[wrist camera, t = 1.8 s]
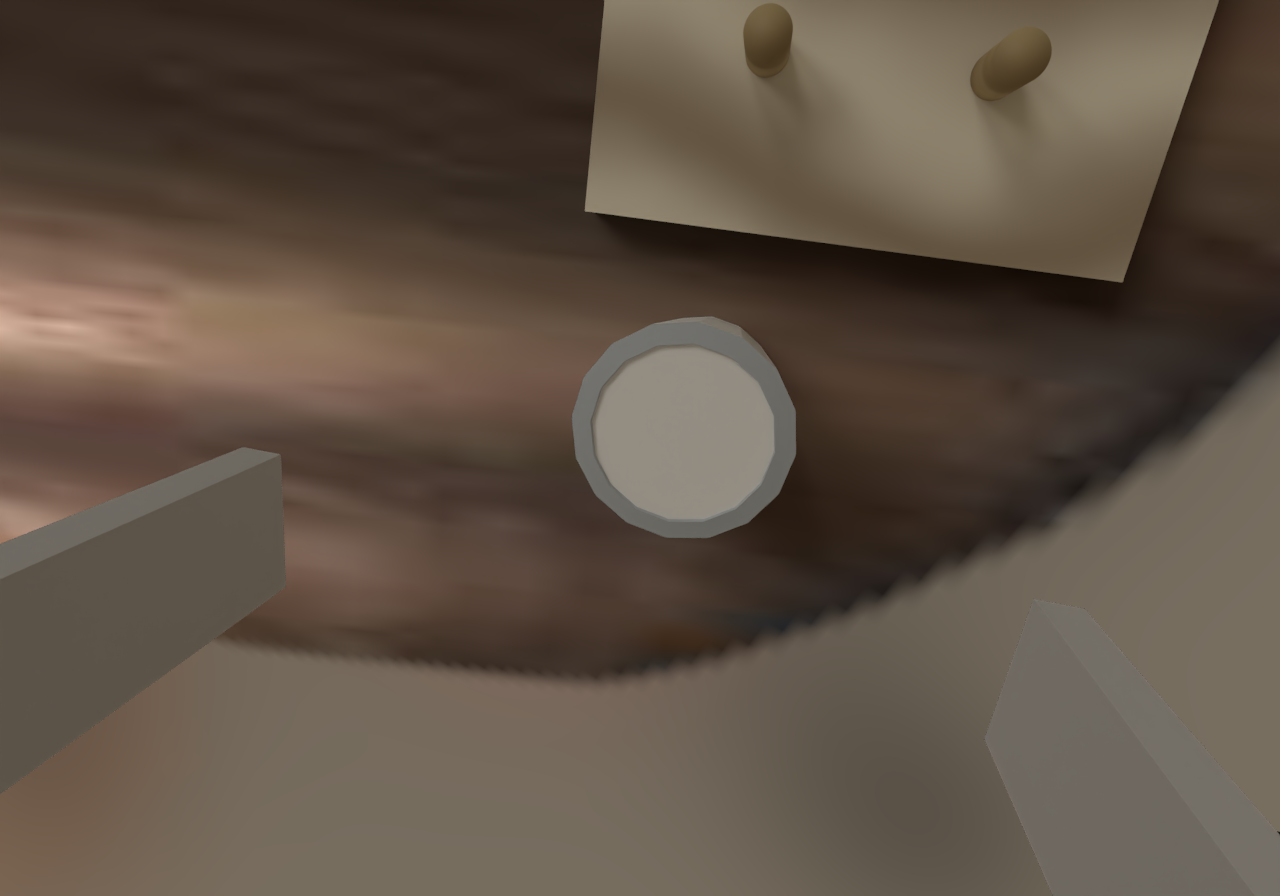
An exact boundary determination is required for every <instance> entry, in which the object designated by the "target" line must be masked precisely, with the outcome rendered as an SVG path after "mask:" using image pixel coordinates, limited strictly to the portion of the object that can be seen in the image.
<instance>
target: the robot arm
mask: <svg viewBox="0 0 1280 896" xmlns="http://www.w3.org/2000/svg"><path fill="white" fill-rule="evenodd" d="M285 587H286V573H285V548H284V523H283V498H282V473H281V454H276V453H271V452H265V451H260V450H255V449H250V448H244V447H242V448H240V449H237V450H235V451H232V452H230V453H227V454H225V455H222V456H220V457H217V458H215V459H212V460H210V461H207V462H205V463H202V464H200V465H197V466H195V467H192V468H190V469H187V470H185V471H182V472H180V473H177V474H175V475H172V476H170V477H167V478H165V479H162V480H160V481H157V482H155V483H152V484H149V485H147V486H144V487H142V488H139V489H137V490H134V491H132V492H129V493H127V494H124V495H122V496H119V497H117V498H114V499H112V500H109V501H107V502H104V503H102V504H99V505H97V506H94V507H92V508H89V509H87V510H84V511H82V512H79V513H77V514H74V515H72V516H69V517H67V518H64V519H62V520H59V521H57V522H54V523H52V524H49V525H47V526H44V527H42V528H39V529H37V530H34V531H32V532H29V533H27V534H24V535H22V536H19V537H17V538H14V539H12V540H9V541H7V542H4V543H2V544H0V794H1V793H2V792H4V791H5V790H7V789H8V788H9V787H11V786H12V785H14V784H15V783H16V782H18V781H19V780H20V779H22V778H23V777H24V776H26V775H27V774H29V773H30V772H31V771H33V770H34V769H35V768H37V767H38V766H40V765H41V764H42V763H44V762H45V761H47V760H48V759H49V758H51V757H52V756H54V755H55V754H56V753H58V752H59V751H60V750H62V749H63V748H65V747H66V746H67V745H69V744H70V743H71V742H73V741H74V740H75V739H77V738H78V737H80V736H81V735H82V734H84V733H85V732H87V731H88V730H89V729H90V728H92V727H93V726H95V725H96V724H98V723H99V722H100V721H102V720H103V719H104V718H106V717H107V716H109V715H110V714H111V713H113V712H114V711H116V710H117V709H118V708H120V707H121V706H122V705H124V704H125V703H127V702H128V701H129V700H131V699H132V698H133V697H135V696H136V695H138V694H139V693H140V692H141V691H143V690H144V689H146V688H147V687H149V686H150V685H151V684H153V683H154V682H155V681H157V680H158V679H160V678H161V677H162V676H163V675H165V674H166V673H168V672H169V671H171V670H172V669H173V668H175V667H176V666H177V665H179V664H180V663H181V662H183V661H184V660H185V659H187V658H188V657H190V656H191V655H193V654H194V653H195V652H197V651H198V650H199V649H201V648H202V647H204V646H205V645H206V644H208V643H209V642H211V641H212V640H213V639H215V638H216V637H217V636H219V635H220V634H222V633H223V632H224V631H226V630H227V629H229V628H230V627H231V626H233V625H234V624H235V623H237V622H238V621H240V620H241V619H242V618H244V617H245V616H246V615H248V614H249V613H251V612H252V611H253V610H255V609H256V608H257V607H259V606H260V605H262V604H263V603H264V602H266V601H267V600H268V599H270V598H271V597H273V596H274V595H275V594H277V593H278V592H279V591H281V590H282V589H284V588H285ZM984 740H985V742H986V745H987V747H988V749H989V752H990V754H991V756H992V758H993V761H994V763H995V765H996V768H997V770H998V772H999V774H1000V777H1001V779H1002V781H1003V783H1004V786H1005V788H1006V790H1007V793H1008V795H1009V797H1010V799H1011V802H1012V804H1013V806H1014V809H1015V811H1016V813H1017V816H1018V818H1019V820H1020V822H1021V824H1022V827H1023V829H1024V832H1025V834H1026V836H1027V839H1028V841H1029V843H1030V845H1031V848H1032V849H1033V852H1034V855H1035V857H1036V859H1037V861H1038V864H1039V866H1040V868H1041V871H1042V873H1043V875H1044V877H1045V880H1046V882H1047V884H1048V887H1049V889H1050V891H1051V893H1052V896H1280V832H1278V831H1276V830H1275V829H1274V828H1273V826H1272V825H1271V824H1270V823H1269V822H1268V821H1267V819H1266V818H1265V817H1264V816H1263V815H1262V814H1261V812H1260V811H1259V810H1258V809H1257V808H1256V807H1255V805H1254V804H1253V803H1252V802H1251V801H1250V800H1249V799H1248V797H1247V796H1246V795H1245V794H1244V793H1243V792H1242V790H1241V789H1240V788H1239V787H1238V786H1237V785H1236V783H1235V782H1234V781H1233V780H1232V779H1231V778H1230V777H1229V775H1228V774H1227V773H1226V772H1225V771H1224V770H1223V769H1222V767H1221V766H1220V765H1219V764H1218V763H1217V761H1216V760H1215V759H1214V758H1213V757H1212V756H1211V755H1210V754H1209V752H1208V751H1207V750H1206V749H1205V748H1204V747H1203V745H1202V744H1201V743H1200V742H1199V741H1198V739H1197V738H1196V737H1195V736H1194V735H1193V734H1192V733H1191V731H1190V730H1189V729H1188V728H1187V727H1186V726H1185V724H1184V723H1183V722H1182V721H1181V720H1180V719H1179V717H1178V716H1177V715H1176V714H1175V713H1174V712H1173V711H1172V709H1171V708H1170V707H1169V706H1168V705H1167V704H1166V702H1165V701H1164V700H1163V699H1162V698H1161V697H1160V695H1159V694H1158V693H1157V692H1156V691H1155V690H1154V689H1153V687H1152V686H1151V685H1150V684H1149V683H1148V681H1147V680H1146V679H1145V678H1144V677H1143V676H1142V675H1141V673H1140V672H1139V671H1138V670H1137V669H1136V668H1135V666H1134V665H1133V664H1132V663H1131V662H1130V661H1129V660H1128V659H1127V657H1126V656H1125V655H1124V654H1123V653H1122V651H1120V649H1119V648H1118V647H1117V646H1116V645H1115V643H1114V642H1113V641H1112V640H1111V639H1110V637H1109V636H1108V635H1107V634H1106V633H1105V632H1104V630H1103V629H1102V628H1101V627H1100V626H1099V625H1098V624H1097V622H1096V621H1095V620H1094V619H1093V618H1092V617H1091V616H1090V614H1089V613H1088V612H1087V611H1086V610H1085V609H1084V608H1079V607H1074V606H1068V605H1063V604H1058V603H1053V602H1048V601H1042V600H1037V599H1033V602H1032V605H1031V607H1030V610H1029V613H1028V616H1027V619H1026V622H1025V624H1024V627H1023V630H1022V633H1021V636H1020V639H1019V642H1018V644H1017V647H1016V650H1015V653H1014V656H1013V658H1012V661H1011V664H1010V667H1009V670H1008V673H1007V676H1006V678H1005V681H1004V684H1003V687H1002V690H1001V693H1000V696H999V698H998V702H997V704H996V707H995V710H994V713H993V715H992V718H991V721H990V724H989V727H988V730H987V732H986V736H985V739H984Z"/></svg>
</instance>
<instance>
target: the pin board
mask: <svg viewBox="0 0 1280 896" xmlns="http://www.w3.org/2000/svg"><path fill="white" fill-rule="evenodd" d="M1218 2H1219V0H605V2H604V13H603V23H602V34H601V44H600V55H599V66H598V76H597V87H596V97H595V108H594V119H593V129H592V140H591V150H590V161H589V172H588V182H587V193H586V203H585V211H587V212H595V213H603V214H610V215H618V216H625V217H633V218H640V219H648V220H655V221H663V222H670V223H678V224H685V225H693V226H701V227H708V228H716V229H723V230H731V231H738V232H746V233H753V234H761V235H768V236H776V237H783V238H791V239H799V240H806V241H814V242H821V243H829V244H836V245H844V246H851V247H859V248H866V249H874V250H881V251H889V252H897V253H904V254H912V255H919V256H927V257H934V258H942V259H949V260H957V261H964V262H972V263H979V264H987V265H995V266H1002V267H1010V268H1017V269H1025V270H1032V271H1040V272H1047V273H1055V274H1062V275H1070V276H1077V277H1085V278H1093V279H1100V280H1108V281H1115V282H1123V280H1124V277H1125V274H1126V271H1127V268H1128V265H1129V262H1130V259H1131V256H1132V253H1133V250H1134V247H1135V245H1136V242H1137V239H1138V236H1139V233H1140V230H1141V227H1142V224H1143V221H1144V218H1145V215H1146V212H1147V210H1148V207H1149V204H1150V201H1151V198H1152V195H1153V192H1154V189H1155V186H1156V183H1157V180H1158V177H1159V174H1160V172H1161V169H1162V166H1163V163H1164V160H1165V157H1166V154H1167V151H1168V148H1169V145H1170V142H1171V139H1172V137H1173V134H1174V131H1175V128H1176V125H1177V122H1178V119H1179V116H1180V113H1181V110H1182V107H1183V104H1184V102H1185V99H1186V96H1187V93H1188V90H1189V87H1190V84H1191V81H1192V78H1193V75H1194V72H1195V69H1196V66H1197V64H1198V61H1199V58H1200V55H1201V52H1202V49H1203V46H1204V43H1205V40H1206V37H1207V34H1208V31H1209V29H1210V26H1211V23H1212V20H1213V17H1214V14H1215V11H1216V8H1217V5H1218Z"/></svg>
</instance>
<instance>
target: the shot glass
mask: <svg viewBox="0 0 1280 896" xmlns="http://www.w3.org/2000/svg"><path fill="white" fill-rule="evenodd" d="M572 424H573V434H574V444H575V453H576V459H577V461H578V463H579V465H580V467H581V469H582V471H583V472H584V474H585V476H586V478H587V480H588V482H589V484H590V486H591V488H592V490H593V491H594V493H595V495H596V496H597V497H598V498H599V499H600V500H602V501H603V502H604V503H605V504H606V505H607V506H608V507H610V508H611V509H612V510H613V511H614V512H615V513H616V514H618V515H619V516H620V517H621V518H622V519H623V520H624V521H626V522H627V523H629V524H632V525H634V526H637V527H640V528H642V529H645V530H647V531H650V532H653V533H655V534H658V535H661V536H663V537H666V538H710V537H712V536H715V535H718V534H720V533H723V532H726V531H728V530H731V529H733V528H736V527H739V526H741V525H744V524H747V523H748V522H750V521H751V520H752V519H753V518H754V517H755V516H756V515H757V514H758V513H759V512H760V511H761V510H762V509H763V508H764V507H766V506H767V505H768V504H769V503H770V502H771V501H772V500H773V499H774V498H775V497H776V496H777V495H778V494H779V493H780V490H781V488H782V486H783V483H784V481H785V479H786V477H787V474H788V472H789V470H790V467H791V465H792V463H793V461H794V458H795V456H796V410H795V408H794V406H793V403H792V401H791V399H790V397H789V395H788V392H787V390H786V388H785V386H784V383H783V381H782V379H781V377H780V374H779V372H778V370H777V368H776V367H775V365H774V364H773V363H772V361H771V360H770V358H769V357H768V355H767V354H766V353H765V351H764V350H763V348H762V347H761V345H759V344H758V343H757V342H756V341H755V340H754V339H753V338H752V337H751V336H750V335H749V334H748V333H746V332H745V331H744V330H743V329H742V328H741V327H740V326H738V325H735V324H732V323H729V322H727V321H724V320H721V319H718V318H716V317H713V316H710V317H691V318H681V319H676V320H671V321H665V322H660V323H655V324H651V325H649V326H647V327H645V328H643V329H641V330H639V331H637V332H635V333H633V334H631V335H629V336H627V337H625V338H623V339H621V340H619V341H617V342H615V343H613V344H611V346H610V347H609V348H608V349H607V350H606V351H605V353H604V354H603V355H602V356H601V357H600V358H599V360H598V361H597V362H596V363H595V364H594V366H593V367H592V368H591V369H590V370H589V371H588V373H587V374H586V375H585V376H584V378H583V382H582V385H581V388H580V391H579V395H578V398H577V401H576V405H575V408H574V411H573V414H572Z"/></svg>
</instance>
